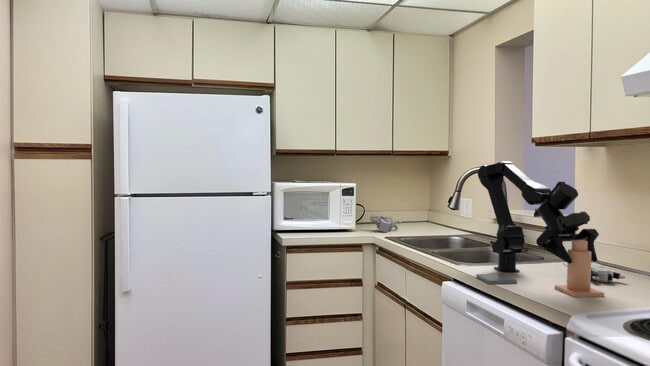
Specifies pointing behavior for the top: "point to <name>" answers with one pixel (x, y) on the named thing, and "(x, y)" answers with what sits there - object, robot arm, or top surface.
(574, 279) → the terracotta vase
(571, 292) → the terracotta tile
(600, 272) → the robot toy
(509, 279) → the slate tile
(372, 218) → the figurine
